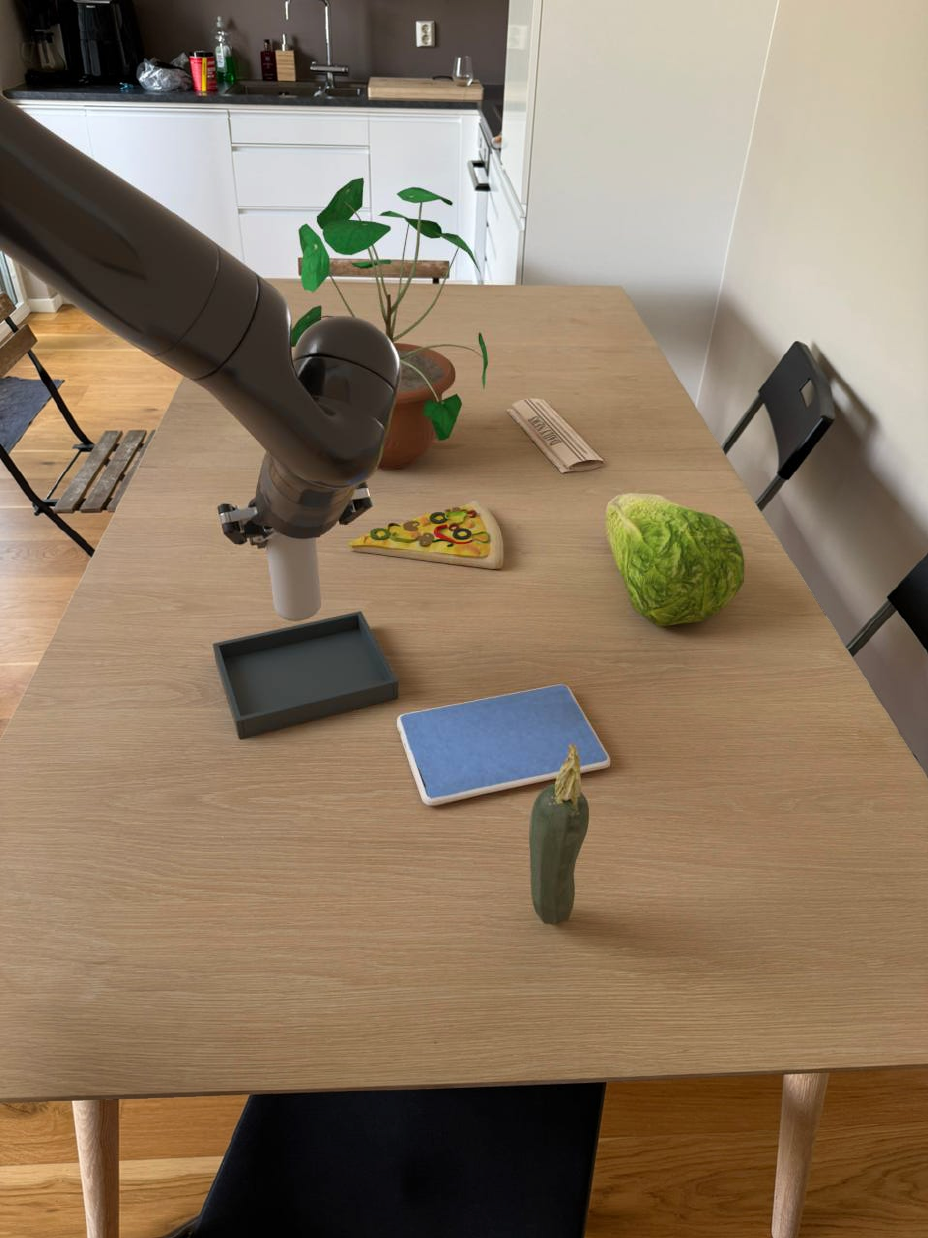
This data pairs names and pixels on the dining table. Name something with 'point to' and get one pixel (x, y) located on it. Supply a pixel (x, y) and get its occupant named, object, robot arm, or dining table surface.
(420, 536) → the pizza slice
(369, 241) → the potted plant
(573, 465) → the newspaper
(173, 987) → the dining table surface
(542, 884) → the vegetable
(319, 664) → the serving tray
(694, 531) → the lettuce
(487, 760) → the tablet
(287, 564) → the beverage can
